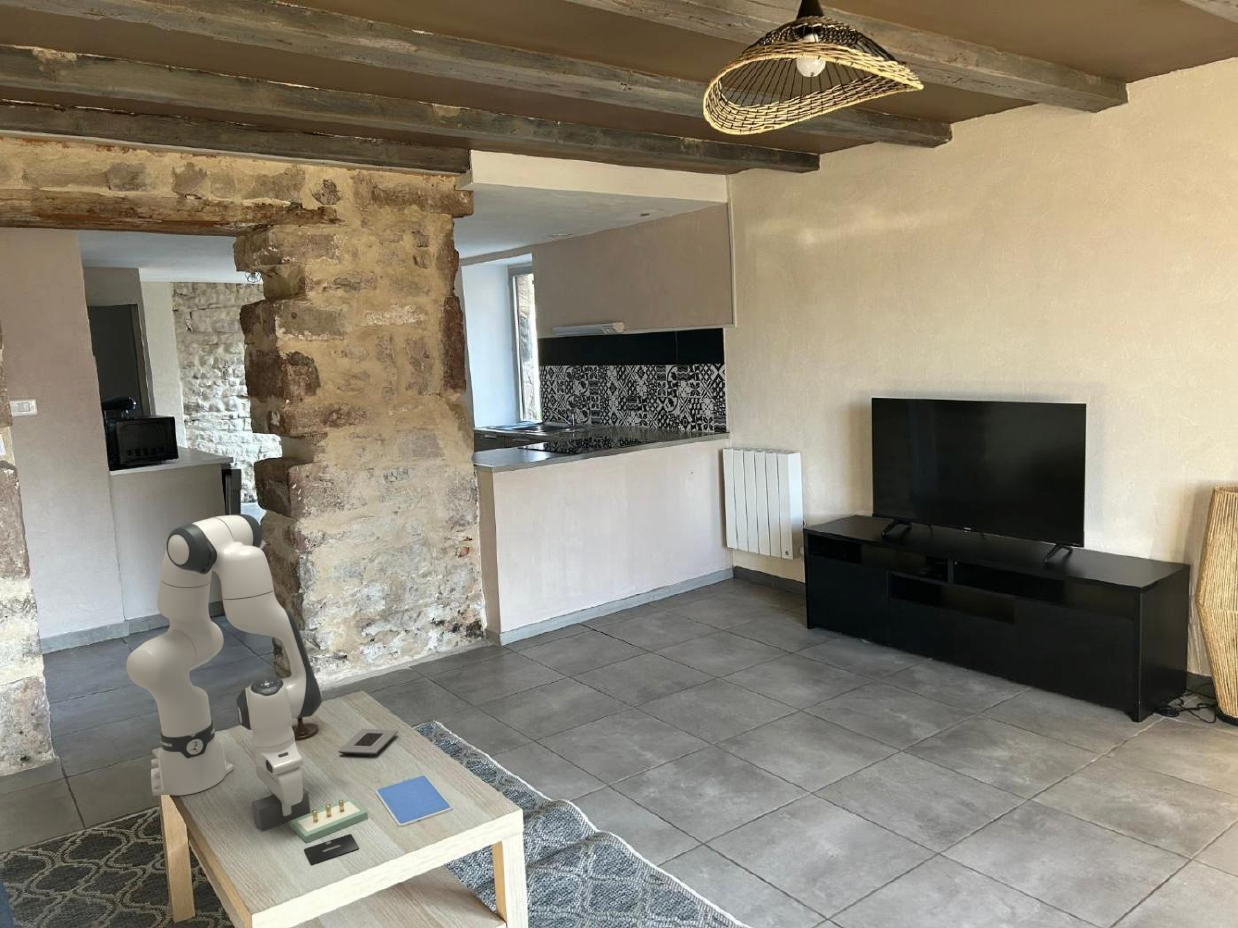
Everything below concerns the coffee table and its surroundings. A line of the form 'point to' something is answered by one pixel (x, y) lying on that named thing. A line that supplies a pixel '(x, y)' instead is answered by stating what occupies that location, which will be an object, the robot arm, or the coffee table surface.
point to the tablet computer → (413, 801)
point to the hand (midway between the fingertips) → (281, 808)
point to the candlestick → (303, 726)
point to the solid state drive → (331, 849)
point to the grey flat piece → (368, 742)
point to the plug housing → (277, 811)
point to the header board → (328, 819)
